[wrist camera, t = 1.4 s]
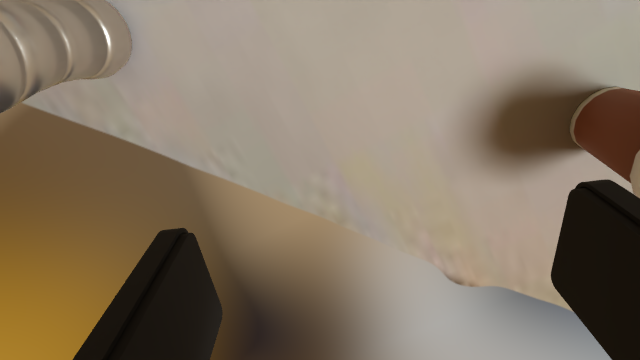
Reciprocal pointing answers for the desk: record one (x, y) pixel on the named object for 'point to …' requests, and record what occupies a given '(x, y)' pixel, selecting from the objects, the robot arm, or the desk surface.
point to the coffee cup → (611, 131)
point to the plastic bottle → (58, 45)
